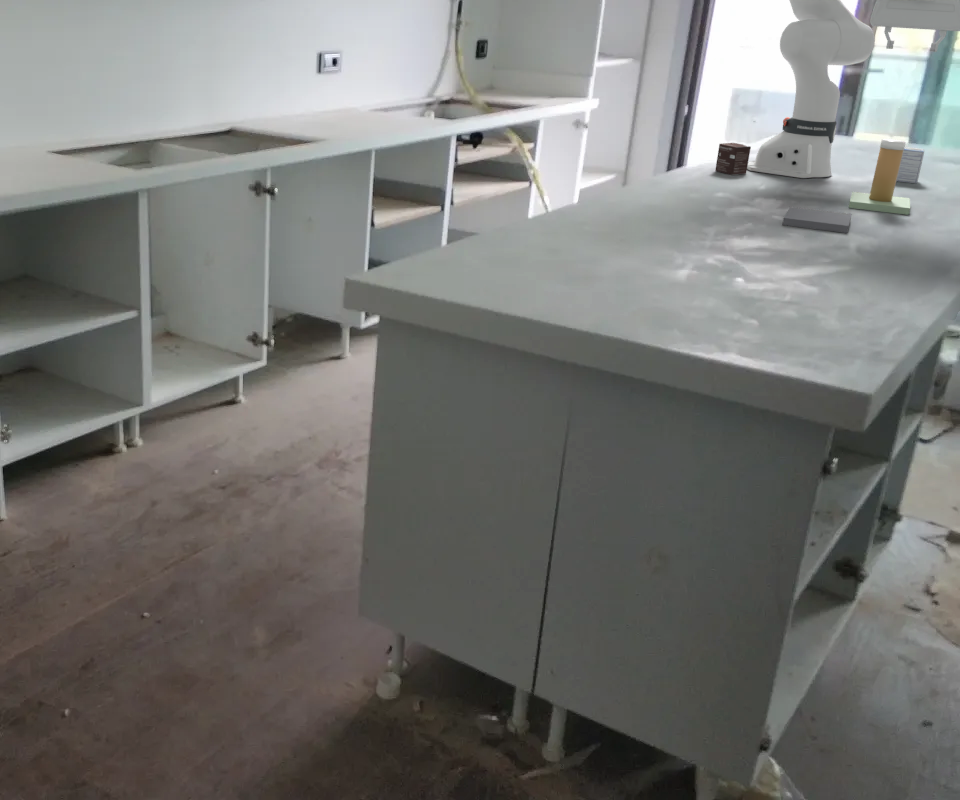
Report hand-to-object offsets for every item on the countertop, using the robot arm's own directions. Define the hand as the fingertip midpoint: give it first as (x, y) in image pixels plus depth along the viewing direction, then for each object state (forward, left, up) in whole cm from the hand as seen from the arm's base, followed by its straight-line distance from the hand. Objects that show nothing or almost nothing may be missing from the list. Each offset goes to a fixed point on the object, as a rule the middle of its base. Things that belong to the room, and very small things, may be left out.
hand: (911, 50), depth 223 cm
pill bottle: (0, -11, -32) cm, 34 cm away
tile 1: (-12, -39, -34) cm, 53 cm away
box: (-38, +13, -34) cm, 53 cm away
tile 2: (0, -11, -34) cm, 36 cm away
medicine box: (+5, +30, -34) cm, 46 cm away
